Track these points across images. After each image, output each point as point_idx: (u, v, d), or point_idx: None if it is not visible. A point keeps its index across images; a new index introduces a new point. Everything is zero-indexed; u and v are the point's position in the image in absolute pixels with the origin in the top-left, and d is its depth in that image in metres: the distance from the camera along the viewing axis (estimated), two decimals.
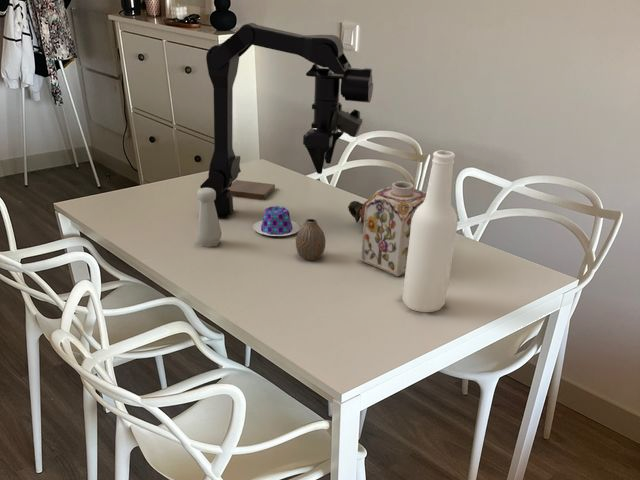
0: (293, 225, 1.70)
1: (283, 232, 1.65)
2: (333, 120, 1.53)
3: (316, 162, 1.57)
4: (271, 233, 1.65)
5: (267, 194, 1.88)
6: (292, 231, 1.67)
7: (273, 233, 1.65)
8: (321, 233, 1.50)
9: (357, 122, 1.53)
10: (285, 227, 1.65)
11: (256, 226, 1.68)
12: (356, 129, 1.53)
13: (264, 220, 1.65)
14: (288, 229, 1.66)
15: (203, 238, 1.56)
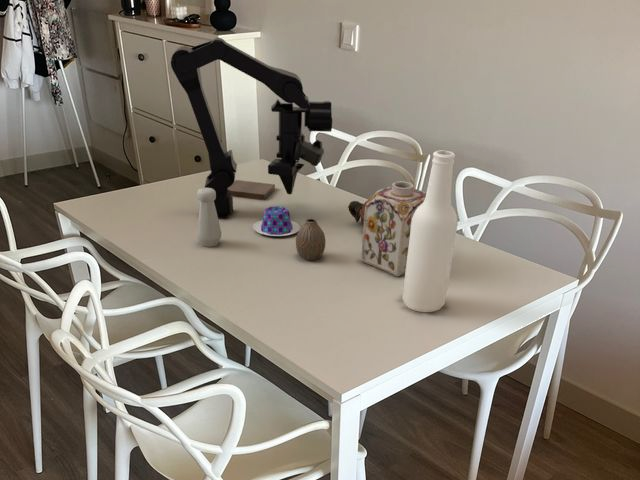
0: (293, 225, 1.70)
1: (283, 232, 1.65)
2: (296, 150, 1.64)
3: (286, 184, 1.72)
4: (271, 233, 1.65)
5: (267, 194, 1.88)
6: (292, 231, 1.67)
7: (273, 233, 1.65)
8: (321, 233, 1.50)
9: (318, 152, 1.65)
10: (285, 227, 1.65)
11: (256, 226, 1.68)
12: (317, 159, 1.65)
13: (264, 220, 1.65)
14: (288, 229, 1.66)
15: (203, 238, 1.56)
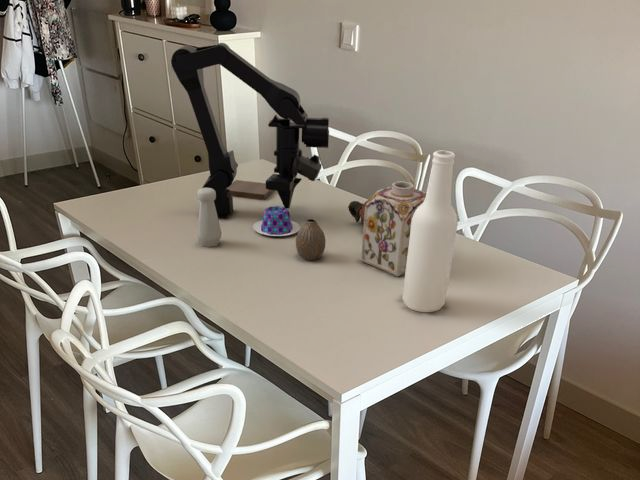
0: (293, 225, 1.70)
1: (283, 232, 1.65)
2: (294, 166, 1.65)
3: (283, 198, 1.72)
4: (271, 233, 1.65)
5: (267, 194, 1.88)
6: (292, 231, 1.67)
7: (273, 233, 1.65)
8: (321, 233, 1.50)
9: (316, 167, 1.65)
10: (285, 227, 1.65)
11: (256, 226, 1.68)
12: (315, 174, 1.65)
13: (264, 220, 1.65)
14: (288, 229, 1.66)
15: (203, 238, 1.56)
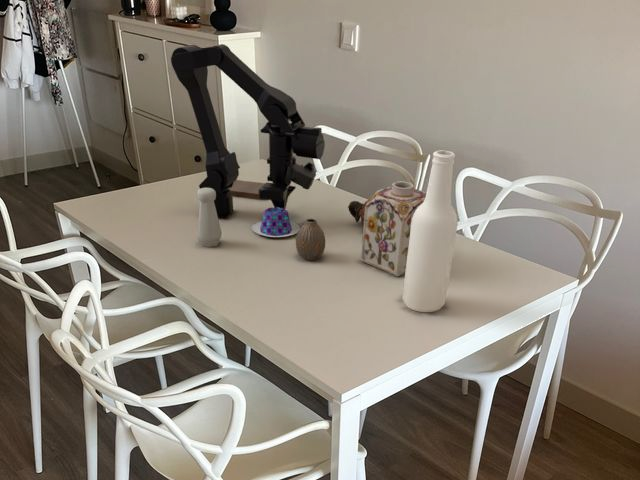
0: (292, 226, 1.69)
1: (282, 233, 1.65)
2: (287, 174, 1.60)
3: None
4: (270, 234, 1.64)
5: None
6: (291, 232, 1.66)
7: (272, 234, 1.64)
8: (321, 233, 1.50)
9: (310, 176, 1.61)
10: (284, 228, 1.65)
11: (256, 227, 1.68)
12: (309, 182, 1.61)
13: (263, 221, 1.64)
14: (287, 230, 1.65)
15: (203, 238, 1.56)
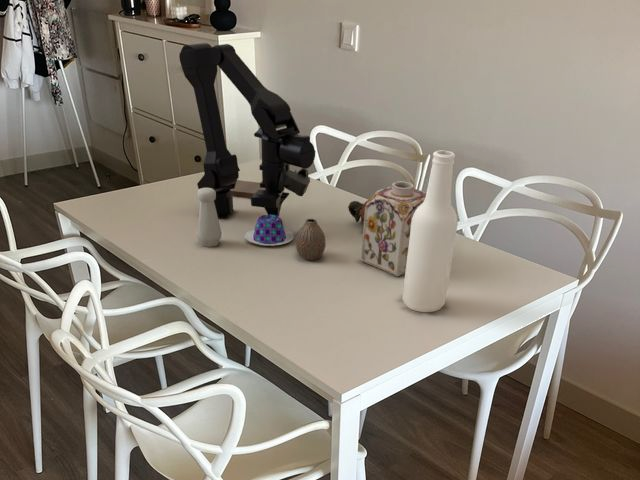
0: (286, 234, 1.65)
1: (276, 241, 1.60)
2: (280, 181, 1.56)
3: None
4: (264, 242, 1.60)
5: None
6: (285, 240, 1.62)
7: (266, 242, 1.60)
8: (321, 233, 1.50)
9: (304, 182, 1.56)
10: (278, 236, 1.60)
11: (249, 235, 1.63)
12: (303, 189, 1.57)
13: (256, 229, 1.60)
14: (281, 238, 1.61)
15: (203, 238, 1.56)
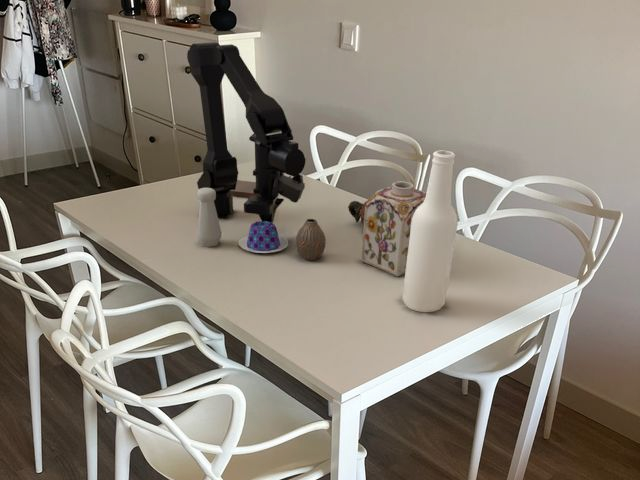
0: (281, 240, 1.61)
1: (270, 248, 1.57)
2: (274, 186, 1.52)
3: (264, 220, 1.60)
4: (257, 249, 1.56)
5: None
6: (280, 247, 1.58)
7: (259, 249, 1.56)
8: (321, 233, 1.50)
9: (298, 188, 1.53)
10: (272, 243, 1.57)
11: (242, 242, 1.59)
12: (298, 195, 1.53)
13: (250, 236, 1.56)
14: (275, 245, 1.57)
15: (203, 238, 1.56)
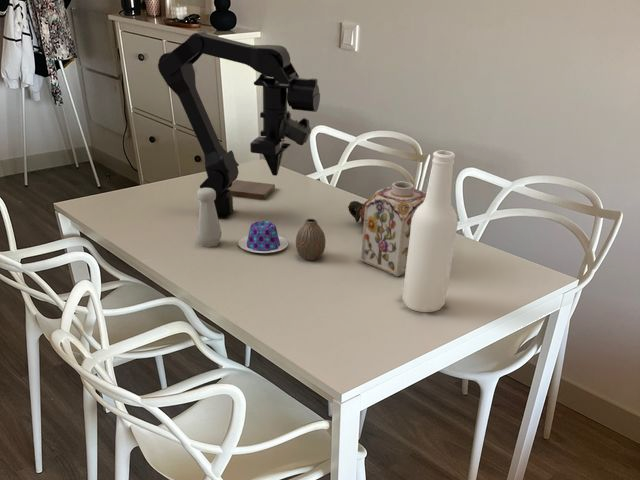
0: (281, 240, 1.61)
1: (270, 248, 1.57)
2: (281, 128, 1.56)
3: (271, 164, 1.63)
4: (257, 249, 1.56)
5: (267, 194, 1.88)
6: (279, 247, 1.58)
7: (259, 249, 1.56)
8: (321, 233, 1.50)
9: (304, 131, 1.56)
10: (272, 243, 1.57)
11: (242, 242, 1.59)
12: (303, 137, 1.57)
13: (250, 236, 1.56)
14: (275, 245, 1.57)
15: (203, 238, 1.56)
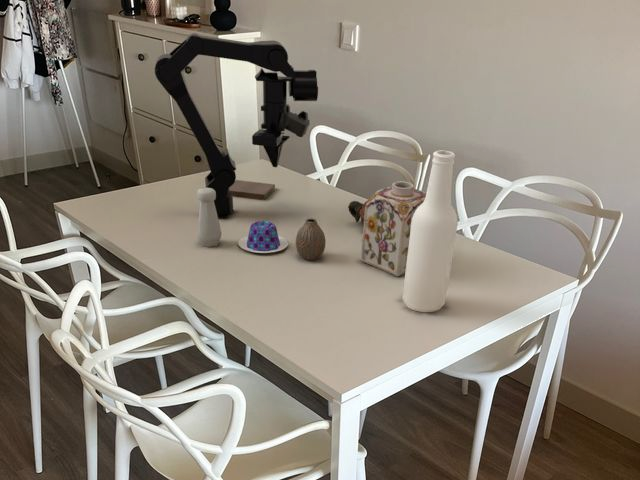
0: (281, 240, 1.61)
1: (270, 248, 1.57)
2: (281, 121, 1.61)
3: (271, 156, 1.69)
4: (257, 249, 1.56)
5: (267, 194, 1.88)
6: (279, 247, 1.58)
7: (259, 249, 1.56)
8: (321, 233, 1.50)
9: (304, 123, 1.62)
10: (272, 243, 1.57)
11: (242, 242, 1.59)
12: (303, 130, 1.62)
13: (250, 236, 1.56)
14: (275, 245, 1.57)
15: (203, 238, 1.56)
